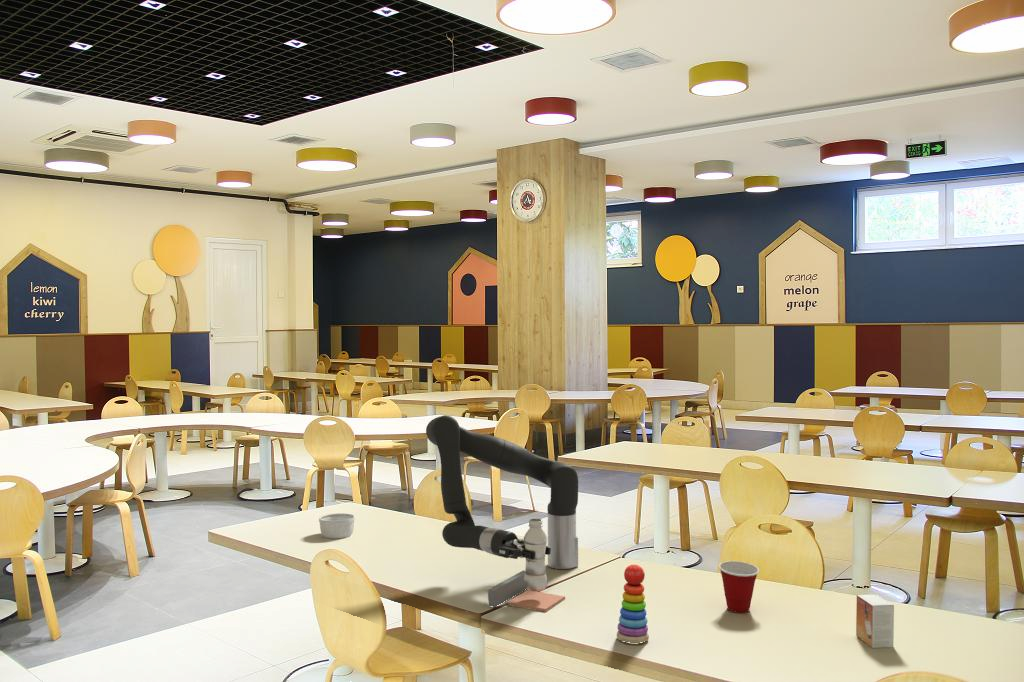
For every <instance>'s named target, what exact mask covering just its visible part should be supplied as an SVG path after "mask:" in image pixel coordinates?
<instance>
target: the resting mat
mask: <svg viewBox="0 0 1024 682" xmlns="http://www.w3.org/2000/svg"><path fill="white" fill-rule="evenodd" d="M564 600H566V595H558V594H553V593H548V592H542V591H530V590H525V591H523V592H521V593H520V594H518V595H516V596H515V597H513V598H511V599H509V600H508V601H507V606H513V607H517V608H523V609H528V610H532V611H533V610H534V611H539V612H544V613H545V612H549V610H551V609H553V608H554V607H555V606H557V605H558V604H560V603H562V602H563V601H564Z"/></svg>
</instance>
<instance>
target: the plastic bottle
mask: <svg viewBox="0 0 1024 682" xmlns="http://www.w3.org/2000/svg"><path fill="white" fill-rule="evenodd" d="M543 526H544V525H543V519H541V518H530V519H529V521H528V527H529V529H527V531H526V533H525V534H524V536H523V539H524V545H525V549H527V550H531V551H534V552H535V559H533V560H532V559H528V558H525V566H524V567H525V568H524V569H525V570H524V571H525V575H524V586H525V588H526V589H527V590H530V591H537V592H542V591H544V590H545V589H546V588H547V585H548V575H547V571H546V570H547V569H546V554H545V551H546V546H547V545H548V536H547V535H546V533H545V531H544V530H543V529H542V528H543ZM527 590H526V591H527Z"/></svg>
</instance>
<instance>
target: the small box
mask: <svg viewBox="0 0 1024 682" xmlns="http://www.w3.org/2000/svg"><path fill="white" fill-rule="evenodd" d="M855 615H856V616H855V618H856V620H855V621H856V622H855V624H856V625H855V636H856V637H857V638H859V639H860V640H862V641H863V642H864V643H865V644H866V645H868V646H869V647H870V648H871V649H880V648H881V649H882V648H884V649H885V648H894V636H895V635H894V633H895V632H894V629H895V626H894V625H895V624H894V623H895V620H894V619H895V605H894V604H893V603H891V602H889V601H888V600H887V599H885V598H883V597H882V596H880V595H879V594H857V595H856V613H855Z"/></svg>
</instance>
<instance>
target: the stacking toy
mask: <svg viewBox="0 0 1024 682" xmlns="http://www.w3.org/2000/svg"><path fill="white" fill-rule="evenodd" d="M623 576H624V580H625V582H626V583H625V584H624V585H623V590H624V591H623V593H622V601H621V608H620V609H619V611H620V612H619V614H620V616H619V617H618V622H619V623H618V624H617V632H616V638H617V639H618V641H620V640H622V641H625V642H630V643H640V642H644V641H647V640H648V641H649V639H650V637H649V636H650V635H649V633H648V632H649V631H648V630H649V627H648V625H647V624H648V618H647V609H646V606H647V604H646V603H647V602H646V601H645V599H646V595H645V593H644V592H645V586H644V585H643V584H642V583H643V582H644V580H645V570H644V568H642V566H640V565H638V564H630V565H628V566H627V567H626V568H625V569H624V571H623ZM648 641H647V642H648Z"/></svg>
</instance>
